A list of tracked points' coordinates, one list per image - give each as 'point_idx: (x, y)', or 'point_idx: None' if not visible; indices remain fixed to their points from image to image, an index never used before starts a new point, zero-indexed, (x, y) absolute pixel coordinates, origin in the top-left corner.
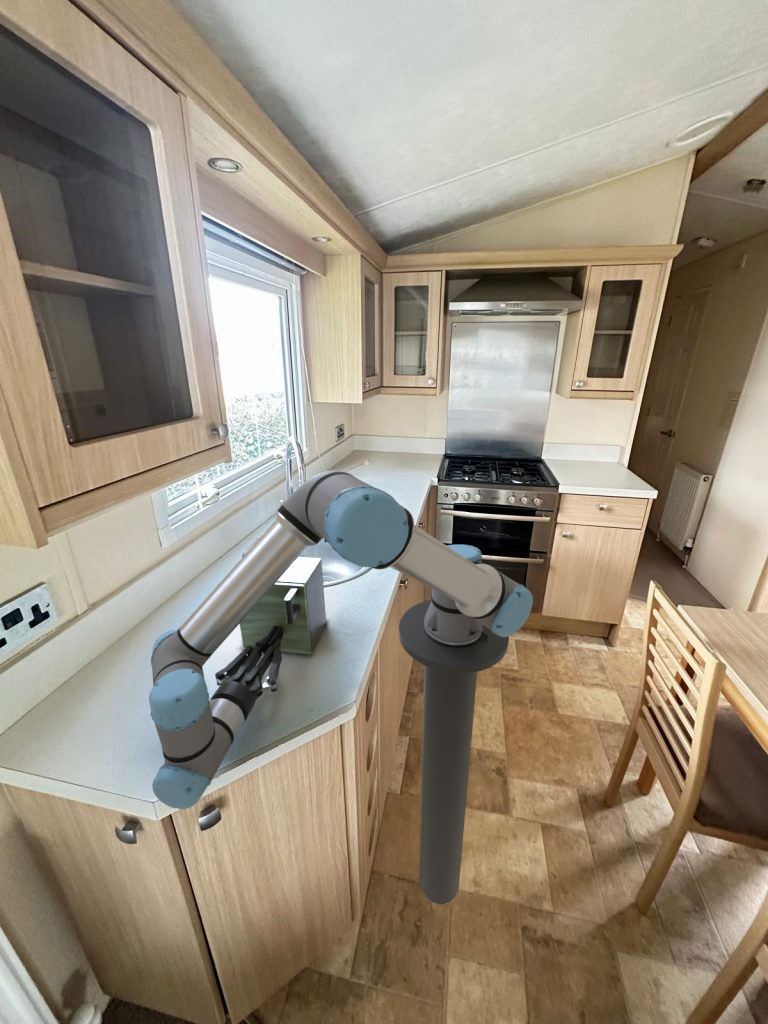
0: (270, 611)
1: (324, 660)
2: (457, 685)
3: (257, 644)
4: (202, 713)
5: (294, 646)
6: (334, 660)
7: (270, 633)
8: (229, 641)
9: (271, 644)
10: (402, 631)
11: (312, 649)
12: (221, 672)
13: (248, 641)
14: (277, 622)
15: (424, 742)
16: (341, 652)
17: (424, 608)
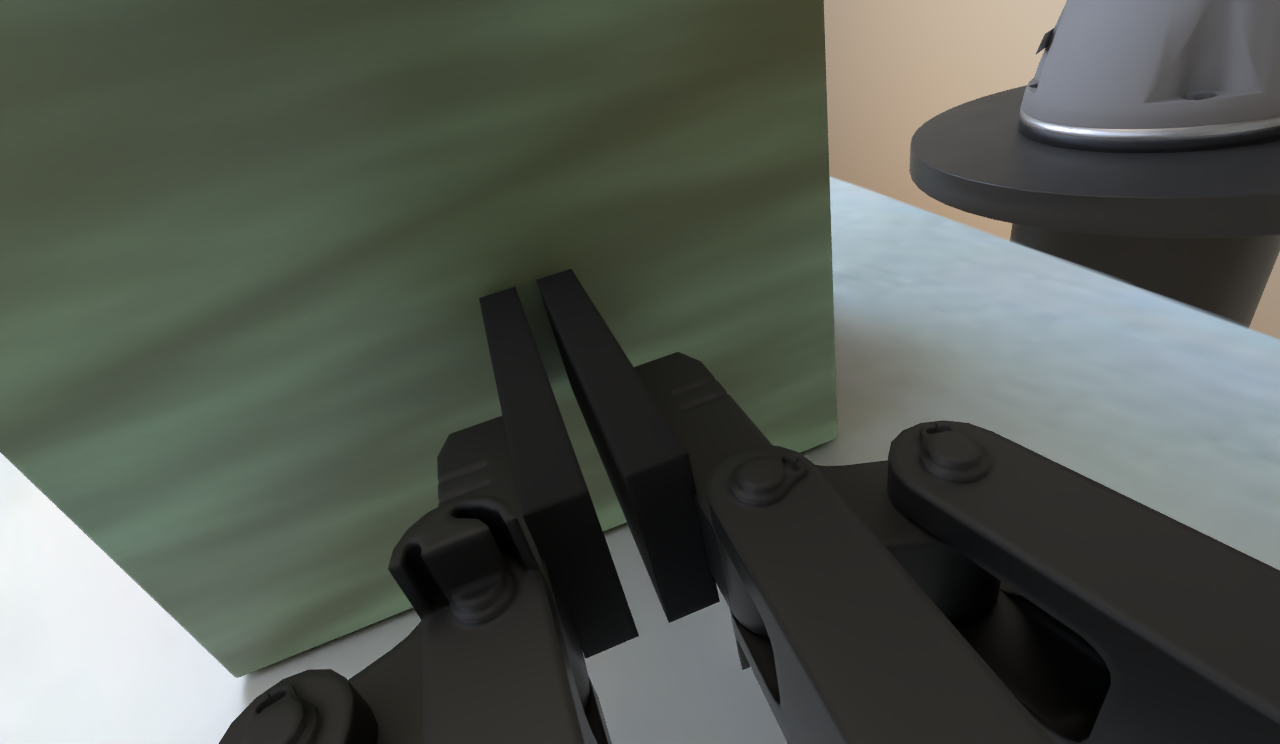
0: (367, 102)
1: (982, 421)
2: (1247, 323)
3: (450, 567)
4: None
5: None
6: (1039, 388)
7: (512, 353)
8: (70, 690)
9: (677, 448)
10: (1035, 183)
11: None
12: None
13: (254, 601)
14: (503, 243)
15: None
16: (987, 337)
17: (958, 132)
